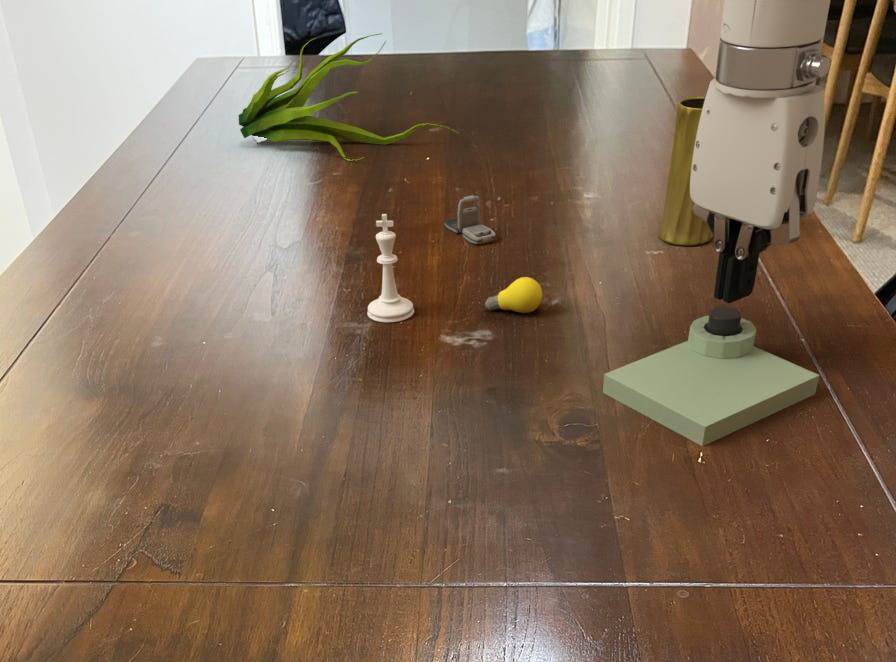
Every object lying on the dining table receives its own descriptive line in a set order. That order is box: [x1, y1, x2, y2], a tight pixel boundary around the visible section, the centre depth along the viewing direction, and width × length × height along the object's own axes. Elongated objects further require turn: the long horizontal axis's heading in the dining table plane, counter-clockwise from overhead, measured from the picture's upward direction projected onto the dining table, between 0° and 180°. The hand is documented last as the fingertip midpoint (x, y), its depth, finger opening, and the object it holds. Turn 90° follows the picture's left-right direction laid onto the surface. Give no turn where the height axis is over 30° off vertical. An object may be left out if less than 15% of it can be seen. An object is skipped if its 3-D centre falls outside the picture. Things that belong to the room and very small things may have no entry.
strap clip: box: [443, 194, 497, 245], centre depth 120 cm, size 8×3×4 cm, turn 27°
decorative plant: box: [238, 33, 460, 162], centre depth 146 cm, size 18×30×15 cm, turn 49°
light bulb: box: [484, 276, 543, 314], centre depth 104 cm, size 3×6×4 cm, turn 84°
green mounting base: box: [602, 315, 820, 447], centre depth 88 cm, size 15×12×4 cm
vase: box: [658, 95, 714, 247], centre depth 113 cm, size 6×6×14 cm
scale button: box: [707, 306, 743, 336], centre depth 91 cm, size 3×3×2 cm
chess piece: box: [366, 213, 415, 323], centre depth 102 cm, size 5×5×10 cm
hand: (732, 296), depth 89 cm, fingers closed
